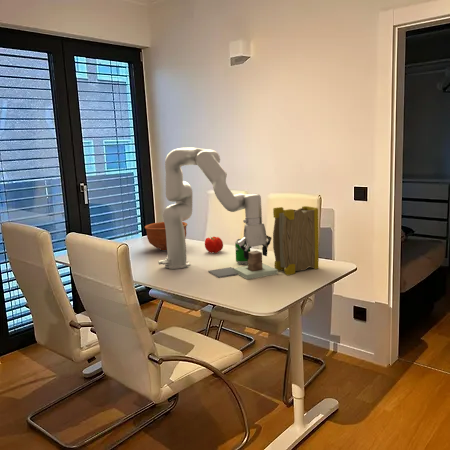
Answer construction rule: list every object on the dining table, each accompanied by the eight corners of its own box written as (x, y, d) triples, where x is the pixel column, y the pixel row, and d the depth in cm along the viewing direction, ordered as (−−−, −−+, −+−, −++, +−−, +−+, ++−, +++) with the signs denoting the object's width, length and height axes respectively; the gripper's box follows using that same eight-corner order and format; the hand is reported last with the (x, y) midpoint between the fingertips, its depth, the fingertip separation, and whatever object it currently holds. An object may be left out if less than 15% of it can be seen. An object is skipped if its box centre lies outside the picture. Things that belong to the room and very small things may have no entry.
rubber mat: (218, 278, 216) (218, 276, 216) (208, 272, 227) (208, 270, 227) (242, 273, 221) (241, 272, 221) (230, 268, 232) (230, 267, 232)
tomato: (206, 255, 261) (206, 240, 259) (203, 251, 271) (202, 236, 270) (225, 253, 263) (224, 238, 262) (221, 249, 274) (220, 234, 272)
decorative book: (307, 264, 234) (306, 203, 228) (320, 269, 224) (320, 206, 218) (272, 270, 225) (270, 208, 220) (285, 275, 215) (283, 210, 210)
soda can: (252, 261, 243) (252, 238, 241) (247, 265, 237) (246, 241, 235) (239, 260, 246) (238, 238, 244) (233, 264, 240) (232, 241, 238)
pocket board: (247, 279, 212) (247, 275, 212) (233, 272, 225) (233, 268, 225) (277, 273, 219) (277, 269, 219) (262, 267, 232) (262, 263, 231)
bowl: (179, 255, 264) (177, 228, 262) (138, 253, 271) (136, 228, 269) (194, 245, 288) (193, 221, 285) (156, 244, 295) (155, 220, 292)
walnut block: (253, 275, 219) (252, 254, 217) (248, 272, 223) (247, 252, 222) (262, 273, 221) (262, 252, 219) (257, 271, 225) (256, 250, 224)
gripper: (240, 224, 211) (243, 261, 214) (274, 219, 218) (275, 255, 221) (233, 222, 217) (235, 258, 220) (266, 217, 225) (267, 253, 227)
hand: (255, 257), depth 220 cm, fingers open, 9 cm apart
